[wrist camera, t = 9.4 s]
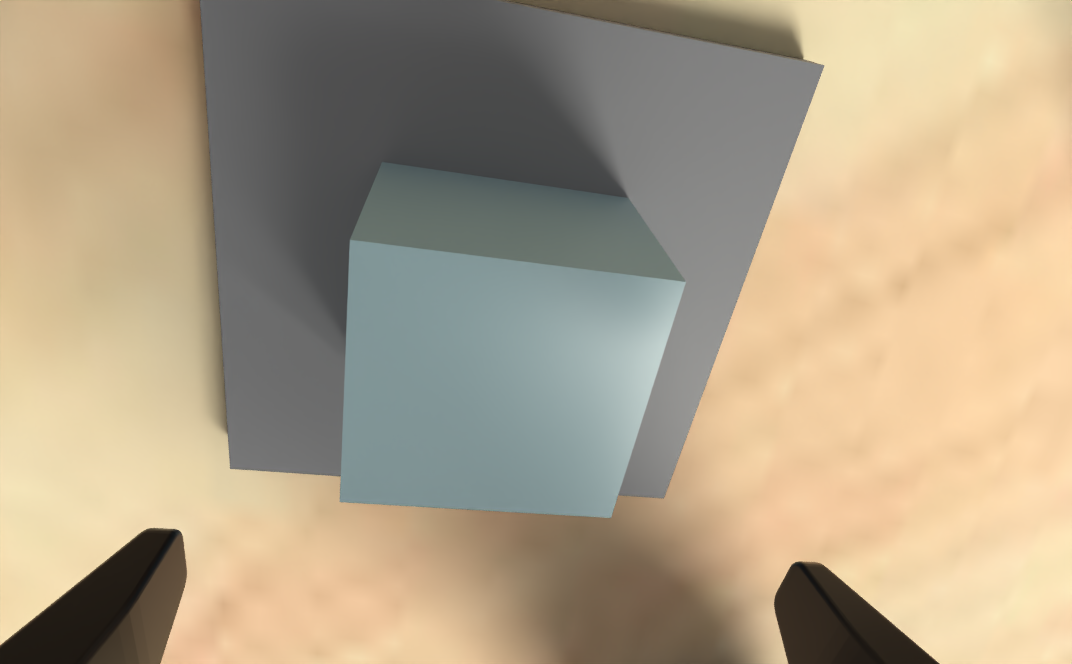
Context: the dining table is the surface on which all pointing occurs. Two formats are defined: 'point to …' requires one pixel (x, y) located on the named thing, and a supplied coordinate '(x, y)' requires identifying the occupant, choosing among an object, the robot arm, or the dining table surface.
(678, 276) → the pale blue cube
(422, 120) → the post stand
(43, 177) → the dining table surface
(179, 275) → the dining table surface
